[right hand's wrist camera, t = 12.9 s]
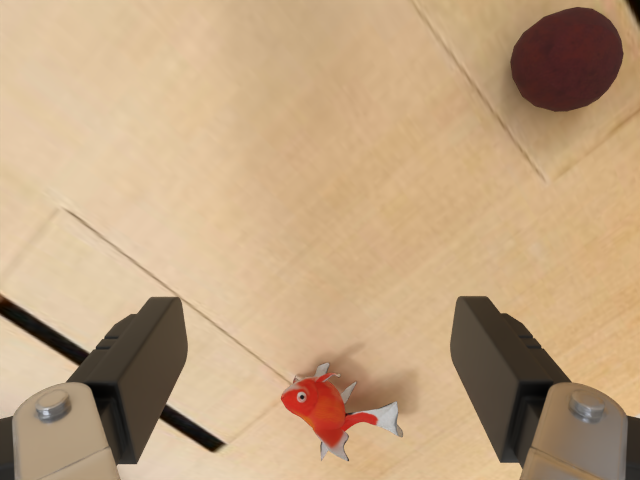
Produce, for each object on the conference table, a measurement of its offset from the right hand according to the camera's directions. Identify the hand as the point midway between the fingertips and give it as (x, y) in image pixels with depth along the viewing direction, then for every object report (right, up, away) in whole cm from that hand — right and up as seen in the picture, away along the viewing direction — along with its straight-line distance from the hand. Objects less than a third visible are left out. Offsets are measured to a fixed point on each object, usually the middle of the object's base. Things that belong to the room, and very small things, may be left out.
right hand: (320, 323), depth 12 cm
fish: (+3, -15, +36) cm, 39 cm away
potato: (+19, +18, +23) cm, 35 cm away
